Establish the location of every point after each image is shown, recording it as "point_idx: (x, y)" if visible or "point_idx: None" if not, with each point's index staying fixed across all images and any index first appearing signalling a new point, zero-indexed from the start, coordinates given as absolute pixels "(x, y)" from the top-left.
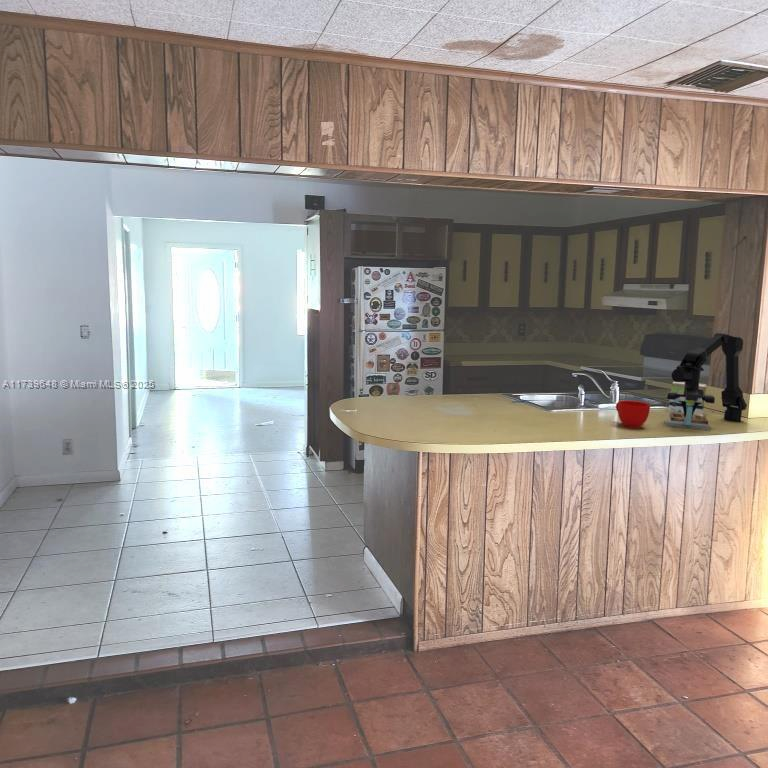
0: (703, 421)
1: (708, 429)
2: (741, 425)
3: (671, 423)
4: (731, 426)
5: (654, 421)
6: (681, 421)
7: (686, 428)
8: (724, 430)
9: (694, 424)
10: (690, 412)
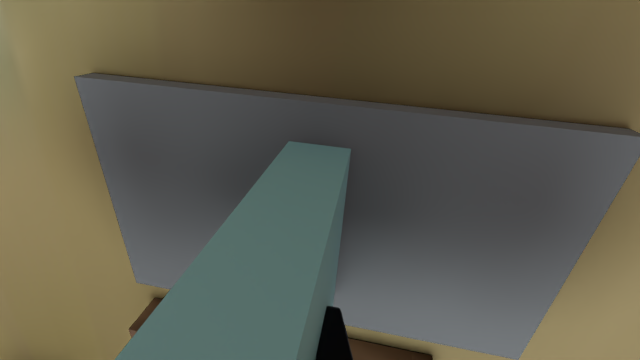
0: None
1: (101, 79)
2: (3, 345)
3: (497, 240)
4: (30, 313)
5: (621, 347)
6: None
7: (344, 100)
8: (16, 175)
9: None
10: (228, 267)
